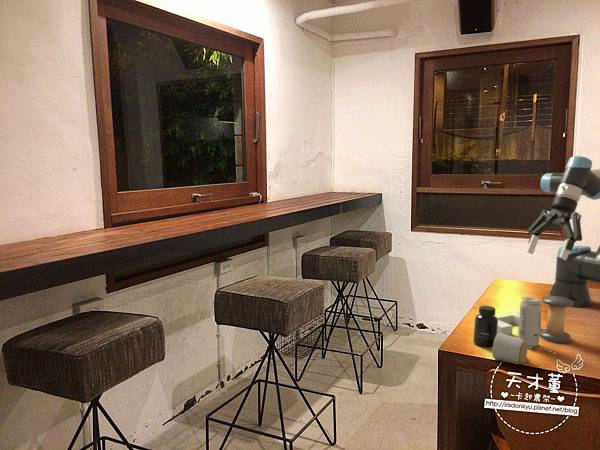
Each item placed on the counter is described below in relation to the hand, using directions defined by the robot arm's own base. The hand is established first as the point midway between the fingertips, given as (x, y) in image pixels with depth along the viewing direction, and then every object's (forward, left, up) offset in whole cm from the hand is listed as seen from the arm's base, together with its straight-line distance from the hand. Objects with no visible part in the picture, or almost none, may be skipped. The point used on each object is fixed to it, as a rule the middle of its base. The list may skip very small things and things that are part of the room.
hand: (545, 255), depth 171 cm
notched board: (+12, -2, -25) cm, 28 cm away
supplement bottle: (+31, +6, -25) cm, 40 cm away
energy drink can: (+19, +12, -25) cm, 34 cm away
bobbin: (+6, +11, -25) cm, 28 cm away
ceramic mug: (+33, +18, -25) cm, 45 cm away
